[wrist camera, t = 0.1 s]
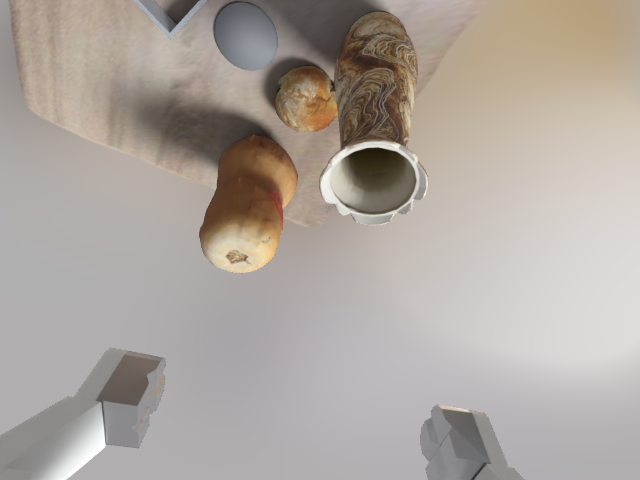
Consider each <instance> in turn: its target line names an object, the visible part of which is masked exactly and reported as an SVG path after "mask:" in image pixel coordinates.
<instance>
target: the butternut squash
mask: <svg viewBox="0 0 640 480" xmlns="http://www.w3.org/2000/svg"><path fill="white" fill-rule="evenodd" d="M297 180H298V174H297V171H296V169H295V166H294V164H293V162H292V160H291V158H290V156H289V155H288V154H287V152H286V151H285V150H284V149H283V148H282V147H281V146H280V145H279V144H277V143H276V142H274V141H272V140H270V139H268V138H267V137H266V136H264V135H263V136H257V135H255V134H252V135H250V136H249V137H246V138H244V139H241V140H239V141H237V142H235V143H233V144H232V145H231V146H229V147H227V148H226V149H225V151H224V153H223V155H222V156H221V158H220V163H219V168H218V179H217V189H216V191H215V194H214V196H213V198H212V200H211V202H210V204H209V206H208V208H207V210H206V214H205V218H204V223H203V225H202V226H201V228H200V232H199V237H200V242H201V248H202V251H203V253H204V255H205V257H206V258H207V259H208V260H209V261H210V262H211V263H212V264H213V265H215V266H217V267H219V268H221V269H223V270H226V271H230V272H237V273H244V272H251V271H254V270H256V269H258V268H260V267H262V266H263V265H265V264H266V263H267V262H269V261H270V260H271V259H272V258H273V256H274V255H275V252H276V249H277V245H278V242H279V239H280V235H281V231H282V229H283V208H284V207H285V206H286V205H287V204H288V202H289V201H290V200H291V198H292V197H293V195H294V193H295V190H296V186H297Z"/></svg>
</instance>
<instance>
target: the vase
mask: <svg viewBox="0 0 640 480" xmlns="http://www.w3.org/2000/svg"><path fill="white" fill-rule="evenodd" d="M417 75H418V65H417V57H416V53H415V50H414V47H413V44H412V42H411V40H410V38H409V36H408V35H407V33H406V30H405V28H404V26H403V24H402V23H401V22H400V20H399V19H398V18H396V17H394V16H393V15H391V14H389V13H386V12H372V13H369V14H366V15H364V16H362V17H360V18H359V19H358V20H357V21H356V22H355V23H354V24H353V25H352V27H351V28H350V30H349V32H348V34H347V36H346V38H345V40H344V41H343V43H342V45H341V47H340V49H339V52H338V55H337V59H336V64H335V72H334V83H335V93H336V101H337V109H338V119H339V128H340V143H341V150H340V151H338V152H337V153H336V154H335V155H334V156H333V157H332V158H331V159H330V160H329V162H328V164H327V166H326V168H325V169H324V170H323V171H322V174H321V176H320V181H319V189H320V193H321V196H322V197H323V198H324V199H325V201H326V202H327V203H333V204H334V205H335V207H336V210H337V211H338V212H339V213H340V214H341V215H346V214H351V216H352V217H353V219H354V220H355V221H356V222H358V223H360V224H364V225H384V224H386V223H388V222H390V221H391V219H392V217H393V216H394V214H396V213H401V214H408V213H409V212H410V211H411V210H412V209H413V203H414V200H415V199H416V200H420V199H422V198H423V197H424V196H426V194H427V189H428V186H429V181H428V175H427V173H426V171H425V169H424V168H423V166H422V165H421V164H420V163H419V161H418V157H417V156H416V154H414V153H413V152H412V151H411V150H410V149H408V148H407V146H408V138H409V130H410V123H411V116H412V110H413V104H414V97H415V91H416V84H417Z"/></svg>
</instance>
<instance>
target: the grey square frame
mask: <svg viewBox="0 0 640 480" xmlns="http://www.w3.org/2000/svg"><path fill="white" fill-rule="evenodd" d="M133 1H134V2H135V3H136V4H137V5H138V6H139V7H140V8H141V9H142V10H143V11H144V12H145V13H146V14H147V15H148V16H149V17H150V18H151V19H152V21H153V22H154V23H155V24H156V25H157V26H158V27H159V28H160V29H161V30H162V31H163V32H164V33H165V34H166V35H167V36H168V37H169V38H170V39H172V38H173V37H174V36H175V35H176V33H177V32H178V31H179V30H180V29H181V28H182V27H183V26H184V25H185V24H186V23H187V22H188V21H189V19H190V18H191V17H192V16H193V15H194V14H195V13H196V12H197V11H198V10H199V9H200V8H201V7H202V5H203V4H204V3H205V2H206V1H207V0H199V1H198V2H197V4H196V5H195V6H194V7H193V8H192V9H191V10H190V11H189V12H188V13H187V15H186V16H185V17H184V18H183V19H182V20H181V21H180V22H179V23H178V24H176V23H175V22H174V21H173V20H172V19H171V18H170V17H169V16H168V15H167V13H166V12H165V11H164V10H163V9H162V8H161V7H160V6H159V5H158V4H157V3H156V2H155V1H154V0H133Z"/></svg>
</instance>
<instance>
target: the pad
mask: <svg viewBox="0 0 640 480" xmlns="http://www.w3.org/2000/svg"><path fill="white" fill-rule="evenodd" d="M215 39H216V42H217V45H218V47H219V49H220V51H221V53H222V54H223V55H224V57H225V58H226V59H227V60H228V61H229V62H231V63H232V64H233V65H235V66H237V67H239V68H241V69H245V70H258V69H261V68H263V67H265V66H267V65H268V64H269V63H270V62H271V61H272V59H273V58H274V56H275V53H276V50H277V34H276V30H275V27H274V25H273V23H272V21H271V20H270V18H269V17H268V16H267V15H266V13H265V12H263V11H262V10H261V9H260V8H258V7H256V6H255V5H252V4H250V3H246V2H236V3H232V4H230V5H228V6H226V7H225V8H224V9H223V10H222V11H221V12H220V13H219V15H218V17H217V19H216V22H215Z"/></svg>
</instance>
